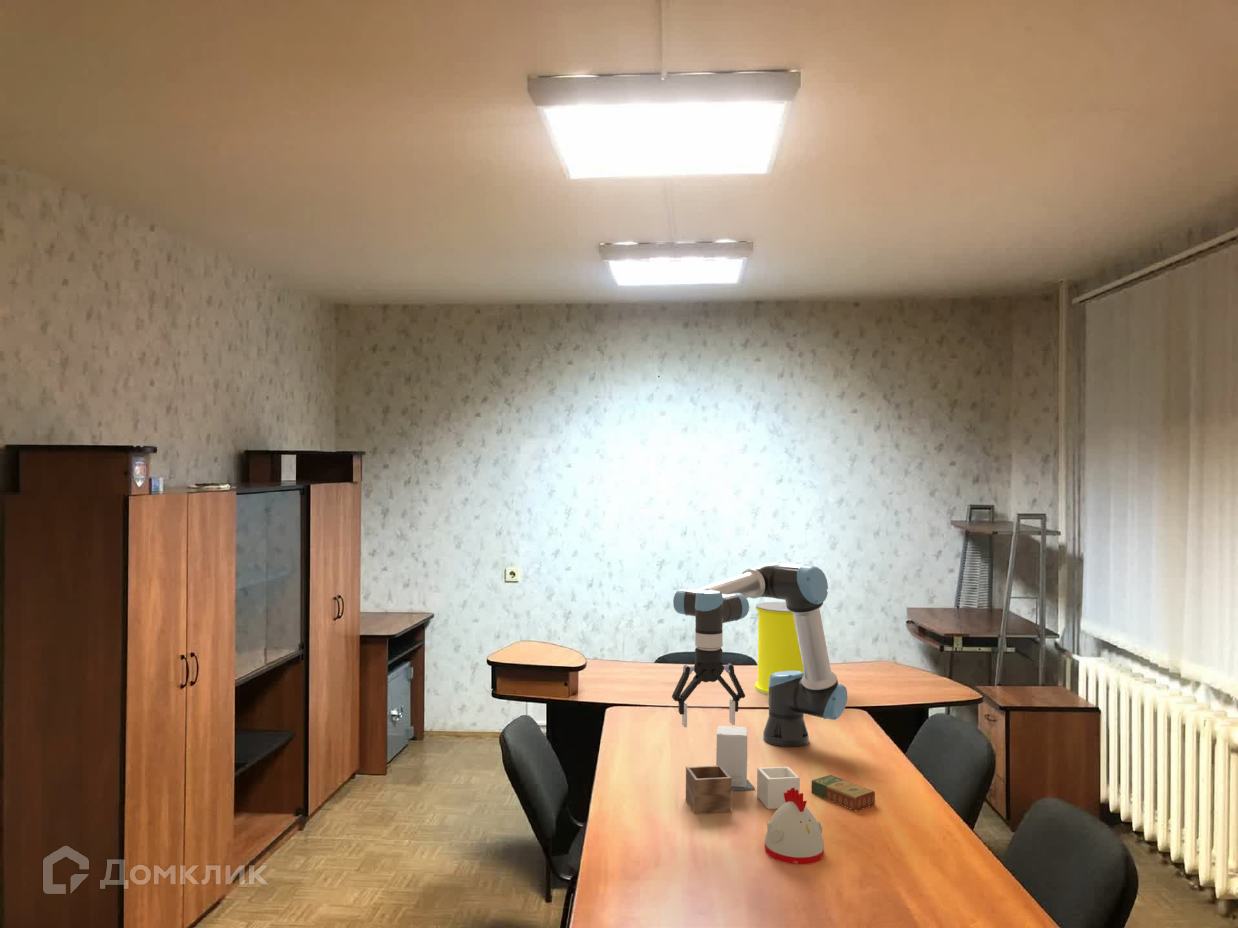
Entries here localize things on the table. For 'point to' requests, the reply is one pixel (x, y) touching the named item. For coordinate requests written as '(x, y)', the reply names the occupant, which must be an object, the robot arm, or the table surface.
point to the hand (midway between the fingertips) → (708, 724)
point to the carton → (843, 792)
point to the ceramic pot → (775, 785)
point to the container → (776, 643)
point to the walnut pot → (708, 789)
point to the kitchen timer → (794, 832)
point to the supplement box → (733, 753)
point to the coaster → (748, 787)
